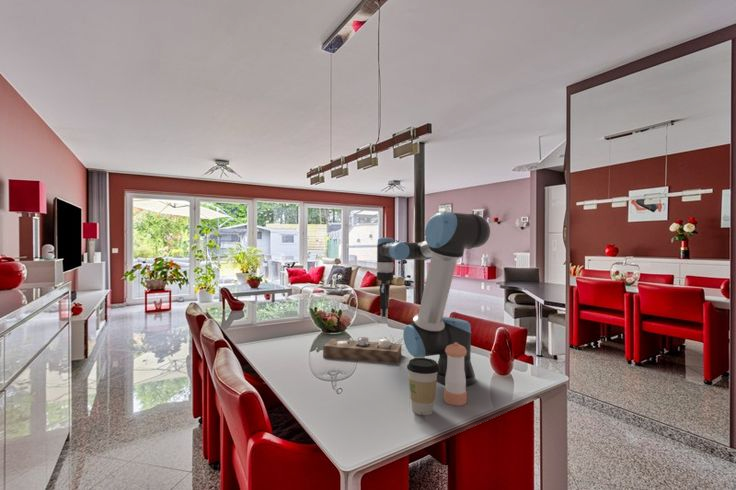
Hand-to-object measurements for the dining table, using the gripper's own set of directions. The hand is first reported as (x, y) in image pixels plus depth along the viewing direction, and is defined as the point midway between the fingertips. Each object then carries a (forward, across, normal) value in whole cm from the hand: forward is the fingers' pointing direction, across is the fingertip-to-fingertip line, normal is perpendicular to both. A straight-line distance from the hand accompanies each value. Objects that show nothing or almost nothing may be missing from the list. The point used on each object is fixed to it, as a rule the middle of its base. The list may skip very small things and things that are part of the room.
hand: (384, 323), depth 163 cm
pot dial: (+13, 0, +10) cm, 16 cm away
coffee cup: (+16, -49, -21) cm, 56 cm away
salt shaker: (+16, -39, -31) cm, 52 cm away
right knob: (+13, 0, 0) cm, 13 cm away
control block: (+16, 0, +10) cm, 18 cm away
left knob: (+15, 0, +20) cm, 25 cm away
